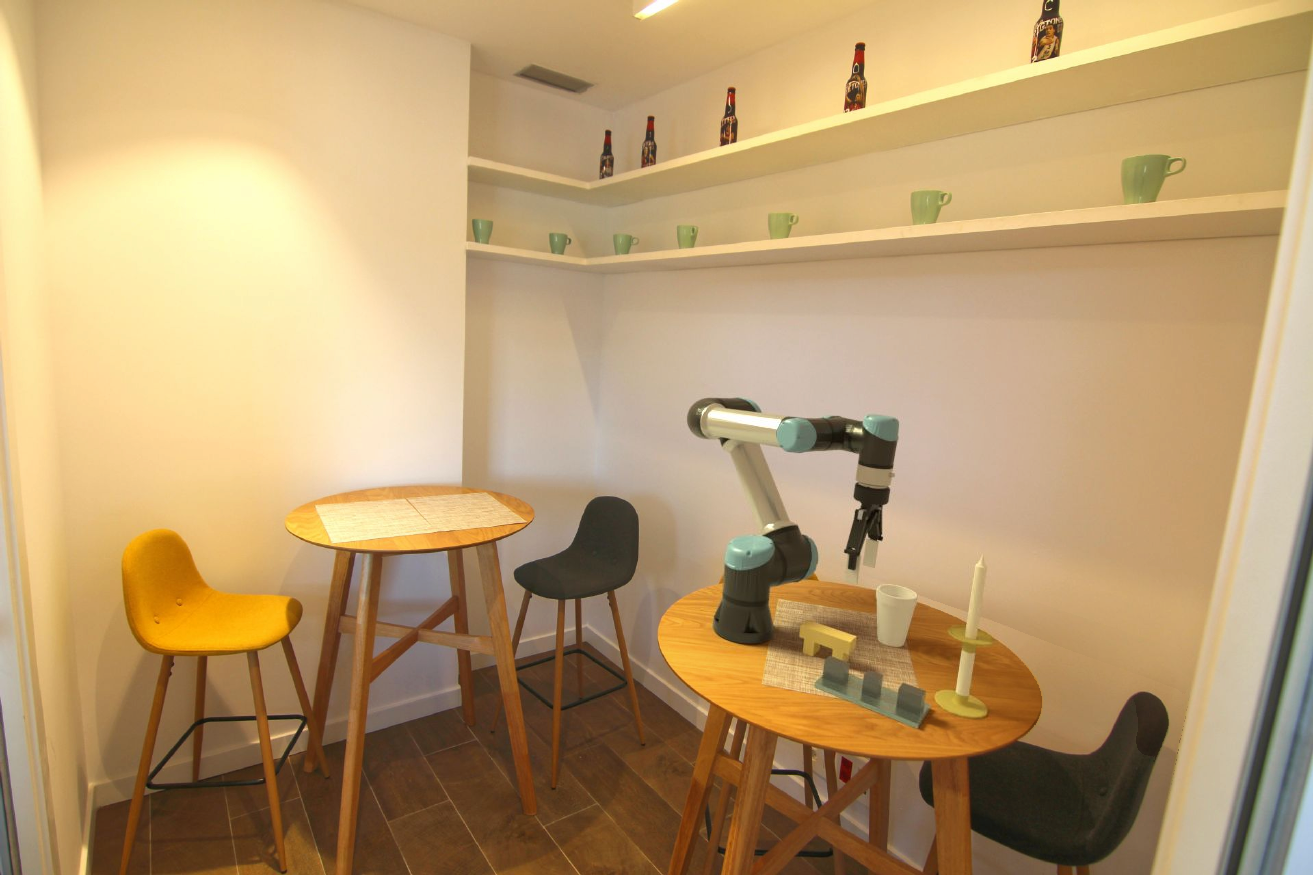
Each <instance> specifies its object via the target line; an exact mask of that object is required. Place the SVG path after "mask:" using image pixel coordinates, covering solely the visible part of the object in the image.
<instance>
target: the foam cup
mask: <svg viewBox="0 0 1313 875" xmlns="http://www.w3.org/2000/svg"><path fill="white" fill-rule="evenodd" d="M875 598H876V635H877V636H876V638H877V640H878V641H879V642H880V643H881V644H883V645H885V646H888V647H893V648H894V647H895V648H899V647H903V646H904V645H905V642H906V639H907V636H908V633H909V629H910V626H911V622H912V620H913V619H912V618H913V616H914V613H915V609H916V607H917V603H918V594H917V592H916V591H914V590H913V589H911V588H909V587H905V586H902V585H897V584H891V583H890V584H889V583H888V584H887V583H885V584H879V585H878V586H877V587H876V592H875Z"/></svg>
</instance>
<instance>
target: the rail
mask: <svg viewBox="0 0 1313 875" xmlns="http://www.w3.org/2000/svg"><path fill="white" fill-rule="evenodd" d="M850 666H851V663H850V662H849V661H848V662H846V661H843V660H840V659H838V658H835V657H832V655H829V656H828V657H827V658H826V659H824V662H823V668H822V670H823V671H822V675H821V676H820V677H819V678H818V679H817V680H815V682H814V684H813V686H814V688H815V689H818V690H820V691H824V692H826V693H828V694H830V695H833V696H835V697H838V698H840V699H842V700H845V701H848V702H850V703H853V704H855V705H857V706H860V707H862V708H865V709H868V710H870V711H873V712H875V713H878V714H880V715H882V716H885V717H887V718H889V719H892V720H894V721H897V722H900V723H902V724H904V725H907V726H909V727H912V728H915V729H919V727H920V725H921V724H922V722H923V721H924V719H925V717H926V716H927V714H928V713H929V710H930V709H931V703H928V702H926V696H927V690H924V689H922V688H919V687H917V686H914V685H911V684H908V683H905V682H902V683H901V684H900V686H899V687H898V689H897V690H898V691H897V690H893V689H891V688H889V687H885V686H884V685H883V679H884V675H883V674H882V673H879V672H875V671H873V670H870V669H868V670H867V671H866V672H865V673H864V675H863V678H861V677H859V676H856V675H854V674H851V673H850Z"/></svg>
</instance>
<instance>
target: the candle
mask: <svg viewBox="0 0 1313 875" xmlns="http://www.w3.org/2000/svg"><path fill="white" fill-rule="evenodd" d="M987 570H988V566H987V565H986V562H985V558H984V554H981V556H980V560H978V562H977V563H976V564H975V565H974V571H973V578H972V586H971V592H970V599H969V605H968V606H969V607H968V613H967V619H966V625H962V624H958V625H957V624H956V625H951V626H948V630H947V632H948V634H949V635H950V636H951V637H952V638H954V639H955V640H957V641H959V642H962V646H961V653H960V659H959V666H958V674H957V680H956V688H955V690H952V689H941V690H939V691H937V692H935V694H934V700H935V702H936V704H937V705H938V706H939V707H941V708H942V709H943V710H945V711H947V712H949V714H953V715H955V716H959V717H961V718H966V719H972V720H974V719H975V720H977V719H983V718H985V717H986V716H987V715H988V708H987V706H986V704H985V703H983V701H981V699H978V698H977V697H975V696H973V695H971V694H970V691H971V690H970V689H971V683H972V678H973V670H974V665H975V664H974V663H975V659H976V658H975V656H976V650H977V646H978V647H990V646H992V645H994V644H995V638H994V637H993V635H991V634H989V633H988V632H986V631H984V630H982V629H979V623H980V618H981V610H982V603H983V598H984V596H983V595H984V592H985V591H984V590H985V585H986V584H985V582H986V577H987Z"/></svg>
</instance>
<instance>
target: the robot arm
mask: <svg viewBox="0 0 1313 875" xmlns="http://www.w3.org/2000/svg"><path fill="white" fill-rule="evenodd" d="M686 424H687V426H688V429H689V430H690V432H691V433H692V434H693V435H694V436H695V437H698V438H700V439H703V440H719V442H720V445H721V448H722V450H723V451H725V452H726V453H729V454H730V457H731V460H732V462H733V464H734V467H735V470H736V472H737V475H738V478H739V481H740V484H741V487H742V488H743V491H744V494H745V496H746V499H747V502H748V504H749V507H750V511H751V512H752V516H753V518H754V522H755V524H756V526H757V528H758V534H753V535H750V534H744V535H739V536H736V537H734V538H731V540H730V541H729V542H728V543H727V546H726V549H725V550H726V552H725V554H724V571H723V584H722V596H721V599H720V602H719V604H718V606H717V609H716V611H715V613H714V615H713V619H712V630H713V631H714V632H715V634H717V635H718V636H720V637H721V638H723V639H725V640H728V641H730V642H735V643H739V644H746V645H753V644H754V645H755V644H763V643H765V642H768V641H770V640H771V639H772V637H773V636H774V628H775V626H774V621H773V617H772V612H771V608H770V595H771V594H770V593H771V588H775V587H779V586H782V585H783V586H784V585H787V584H791V583H795V584H796V583H799V582H801V581H803V580H807V579H809V578H810V577H811V576H812V575H813V574H815V571H816V570H817V566H818V564H819V551H818V547H817V545H816V543H815V541H814V540H813V539H812V538H811V537H809V536H808V535H806V534H802V532H801V530H800V526H799V525H798V524H797V523H795V522H793V521H791V520H790V518H789V515H788V512H787V509H786V507H785V505H784V502H783V500H782V498H781V495H780V492H779V490H778V488H777V485H776V484H777V483H776V482H775V480H774V477H773V475H772V473H771V469H770V468H769V465H768V462H767V459H766V456H765V454H764V452H763V449H762V447H761V445H765V446H769V447H770V446H771V447H775V448H781V449H782V450H783V451H784V452H786V453H794V454H801V453H802V454H803V453H808V452H809V453H810V452H811V453H812V452H828V451H831V452H832V451H844V452H848V453H853V454H857V455H858V462H857V467H856V474H855V481H856V482H855V483H854V490H853V500H855V501H857V502H859V503H860V507H859V508H858V509H857V508H856V509H855V510H854V515H853V520H852V524H851V528H850V532H849V535H848V539H847V542H846V547H845V549H843V553H844V554H845V555H846V554H847V557H846V565H845V572H844V579H843V582H845V583H850V584H852V585H855V586H856V585H858V582H859V576H860V575H859V574H860V569H861V567H860V566H861V563H862V566H864V567H868V568H871V569H875V568H876V562H877V556H878V548H879V543H880V542H883V540H884V536H883V510H884V509H883V507H884V506H885V505H887V504H888V503H889V501H890V494H891V488H890V486H891V484H892V479H893V478H895V476H896V474H895V472H893V471H894V466H895V464H894V463H895V456H896V450H897V446H898V441H899V428H900V421H899V420H898V418H896V417H894V416H892V415H891V416H890V415H885V414H884V415H883V414H875V413H873V414H871V413H870V414H866V415H865V416H864V417H863V420H857V419H853V418H846V417H843V416H841V415H831V414H829V415H828V414H827V415H826V414H825V415H824V416H822V417H819V418H816V417H814V418H813V417H812V418H811V417H798V416H789V415H782V414H774V413H766V412H762V410H761V408H760V406H759V405H758V404H757V403H756V402H755V401H754V400H752V399H749V398H743V397H739V396H738V397H704V398H701V399H698V400H697V401H695V402H694V403H693V404H692V405H691V406H690V408H689V410H688V411H687V415H686ZM864 543H865V544H864ZM863 547H864V552H863V559H862V555H861V553H862V549H863ZM861 560H862V562H861Z"/></svg>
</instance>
